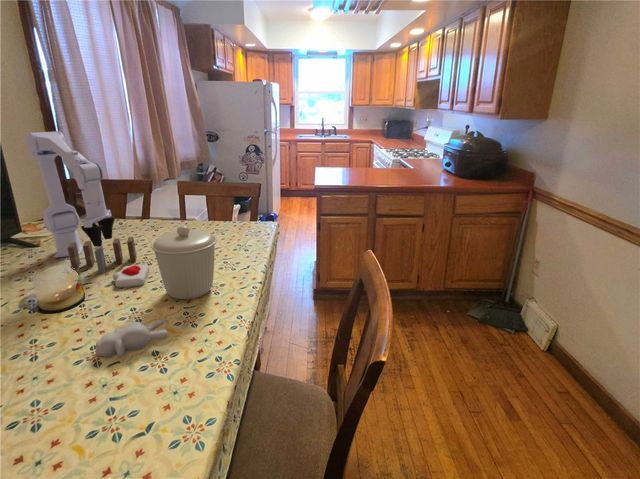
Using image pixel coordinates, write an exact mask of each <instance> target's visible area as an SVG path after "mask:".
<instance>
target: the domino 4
mask: <svg viewBox="0 0 640 479" xmlns="http://www.w3.org/2000/svg"><path fill="white" fill-rule="evenodd" d="M126 243H127V251H128V255H129V260H130V264H132V263H133V264H134V263H137V253H136V252H137V251H136V246H135V239H134V236H128V237H127V240H126Z"/></svg>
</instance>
